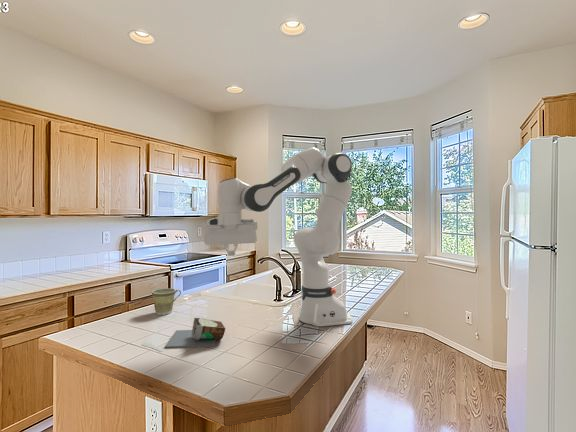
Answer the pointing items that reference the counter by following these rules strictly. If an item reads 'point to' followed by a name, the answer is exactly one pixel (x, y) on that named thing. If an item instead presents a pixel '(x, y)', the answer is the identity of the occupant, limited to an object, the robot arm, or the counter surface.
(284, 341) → the counter surface
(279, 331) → the counter surface
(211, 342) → the mat
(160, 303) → the ceramic cup
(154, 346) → the butter knife
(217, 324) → the food container
